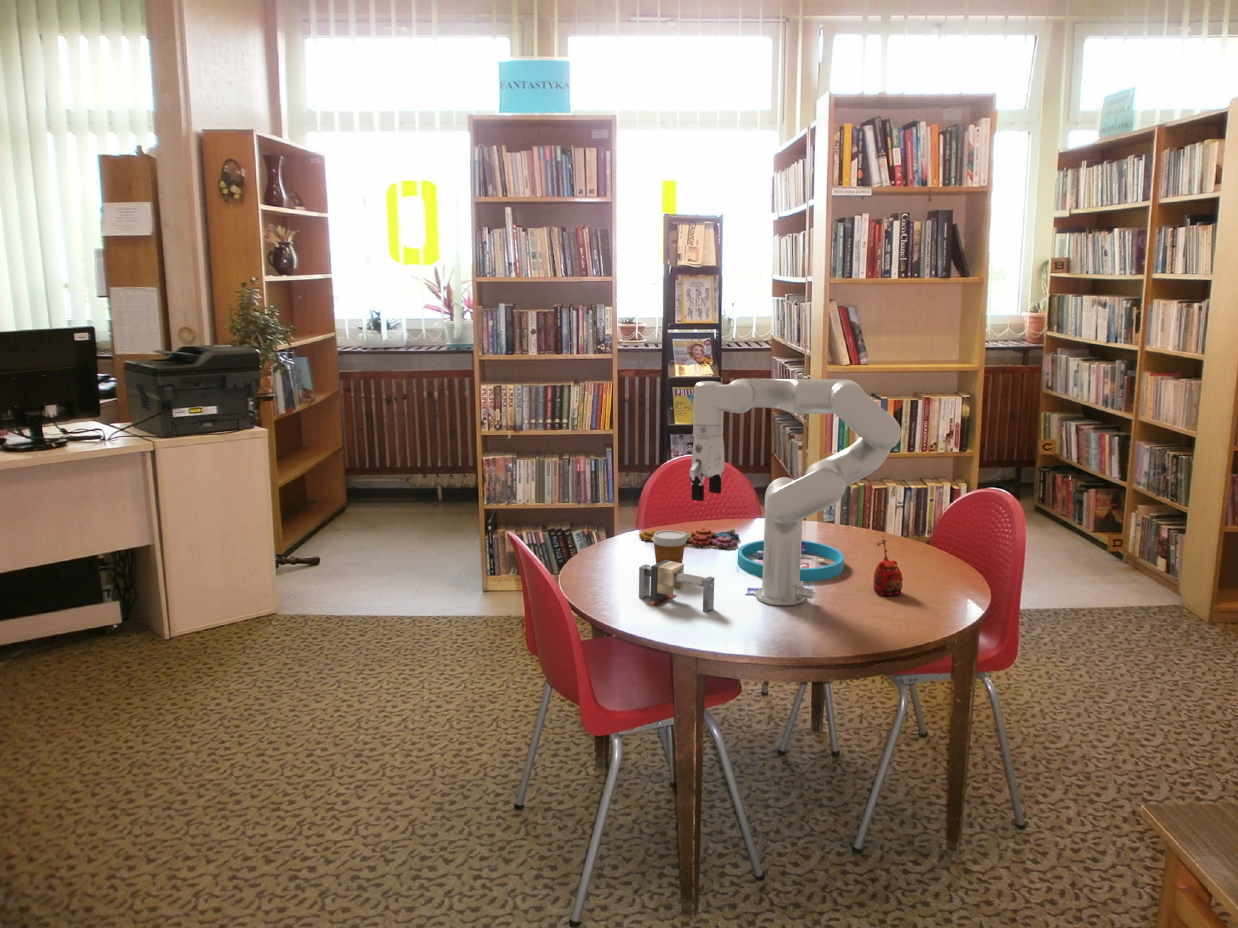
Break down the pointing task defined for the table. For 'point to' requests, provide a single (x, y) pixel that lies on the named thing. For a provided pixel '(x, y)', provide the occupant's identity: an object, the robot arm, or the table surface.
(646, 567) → the grey long flanged piece
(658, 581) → the sleeve
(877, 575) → the red clay folk toy
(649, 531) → the gear puzzle
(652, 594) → the dark grey u-shaped piece
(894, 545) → the table surface
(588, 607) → the table surface
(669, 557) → the disposable coffee cup
